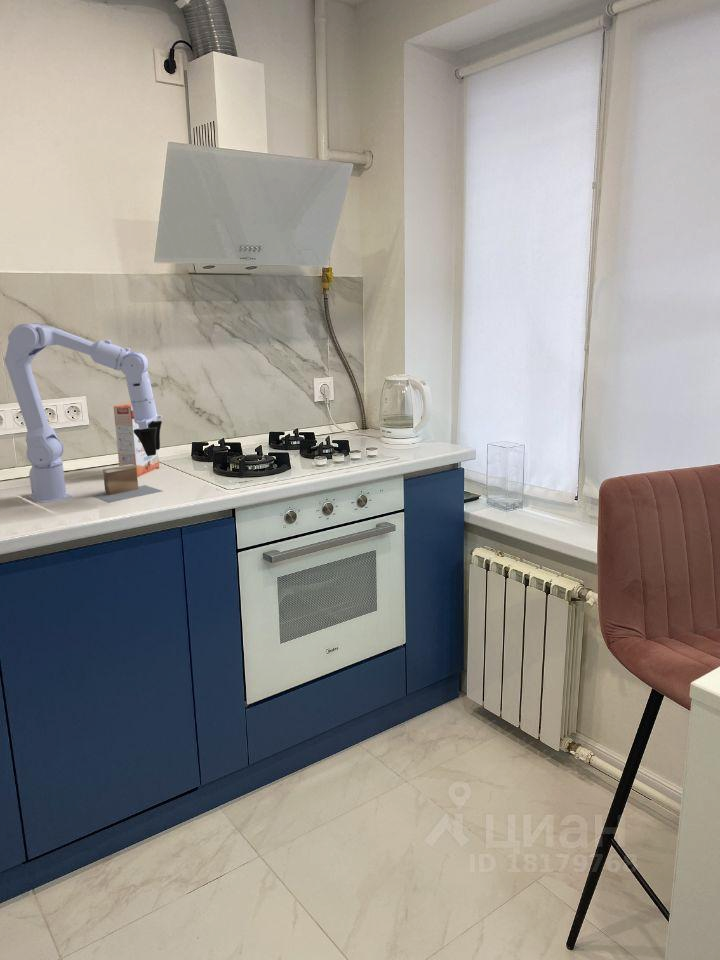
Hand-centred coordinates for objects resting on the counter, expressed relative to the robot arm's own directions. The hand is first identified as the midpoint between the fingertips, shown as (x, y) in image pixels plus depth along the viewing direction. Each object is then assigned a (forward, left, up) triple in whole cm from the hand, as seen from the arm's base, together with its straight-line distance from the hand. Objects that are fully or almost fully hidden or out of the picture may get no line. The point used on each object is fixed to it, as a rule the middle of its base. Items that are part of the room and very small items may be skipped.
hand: (153, 452), depth 185 cm
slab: (-8, -6, -11) cm, 14 cm away
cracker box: (-27, +9, -11) cm, 30 cm away
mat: (-5, -6, -11) cm, 13 cm away
